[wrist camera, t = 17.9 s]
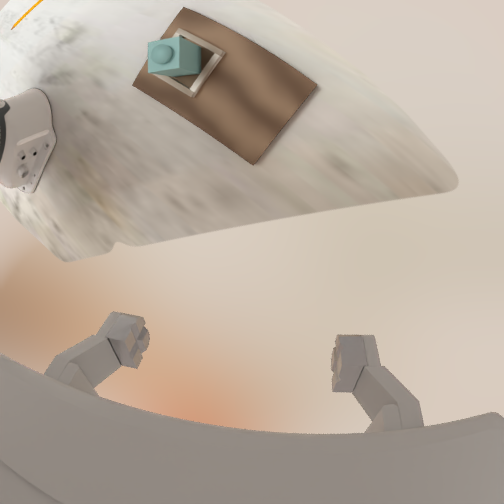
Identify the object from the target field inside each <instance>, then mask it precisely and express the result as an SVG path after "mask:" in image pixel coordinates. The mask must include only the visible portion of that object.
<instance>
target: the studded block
mask: <svg viewBox="0 0 504 504" xmlns="http://www.w3.org/2000/svg"><path fill="white" fill-rule="evenodd" d="M148 73H151V74H158V75H164V76H171V77H178V76H186V75H195V74H200V73H201V47H200V46H198V45H196V44H194V43H192V42H190V41H188V40H186V39H184V38H182V37H180V36H179V37H173V38H168V39H163V40H158V41H153V42H149V43H148Z"/></svg>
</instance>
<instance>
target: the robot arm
mask: <svg viewBox="0 0 504 504" xmlns="http://www.w3.org/2000/svg"><path fill="white" fill-rule="evenodd" d="M55 144H56V136H55V133H54V130H53V127H52V116H51V109H50V105H49V102H48V99H47V97H46V96H45V94H44V93H43V92H42V91H41V90H39V89H35V88H33V89H29V90H27V91H25V92H23V93H21V94H19V95H16V96H13V97H11V98H8V99H5V100H0V183H1V184H2V185H3V186H5V187H7V188H18V189H19V190H20V191H22V192H24V193H33V192H34V190H35V188H36V185H37V183H38V181H39V178H40V176H41V174H42V171H43V169H44V167H45V165H46V162H47V160H48V158H49V156H50V154H51V152H52V150H53V148H54V146H55ZM144 325H145V321H144V318H143V317H140V316H135V315H130V314H125V313H119V312H114V311H113V312H112V313H110V315H109V316H108V318H107V319H106V321H105V322H104V324H103V325H102V327H101V328H100V330H99V331H98V333H97V334H96V335H92V336H90V337H89V338H87V339H85V340H83V341H82V342H80V343H78V344H76V345H75V346H73V347H71V348H69V349H67V350H66V351H64V352H62V353H60V354H59V355H57V356H55V358H54V359H53V361H52V362H51V364H50V365H49V367H48V369H47V370H46V372H45V373H44V375H43V374H41V373H39V372H37V371H35V370H32V369H31V368H28V367H26V366H24V365H22V364H20V363H19V362H17V361H15V360H13V359H11V358H9V357H7V356H5V355H4V354H2V353H0V504H504V418H503V417H502V416H501V415H499V414H498V413H496V412H490V413H486V414H482V415H478V416H474V417H470V418H466V419H462V420H457V421H452V422H448V423H442V424H437V425H431V426H425V427H424V423H423V418H422V413H421V408H420V404H419V401H418V400H417V399H416V398H415V397H414V396H413V395H412V394H411V392H409V391H408V390H407V388H405V387H404V385H403V384H402V383H401V382H400V381H399V380H398V379H396V377H395V376H394V375H393V374H392V373H391V372H390V371H389V370H388V369H387V368H385V366H381V364H380V359H379V354H378V349H377V345H376V341H375V337H374V335H337V337H336V341H335V342H336V347H335V348H333V353H332V359H331V370H332V371H333V372H334V374H333V377H332V390H333V392H353V393H352V394H353V395H354V396H355V398H356V399H357V401H358V402H359V403H360V405H361V406H362V407H363V409H364V410H365V412H366V413H367V415H368V416H369V417H370V419H371V420H372V423H371V424H370V426H369V427H368V428H367V430H366V431H365V433H352V434H297V433H279V432H265V431H255V430H246V429H238V428H230V427H223V426H217V425H210V424H204V423H199V422H194V421H188V420H183V419H179V418H174V417H169V416H165V415H161V414H157V413H153V412H149V411H145V410H141V409H138V408H134V407H130V406H127V405H124V404H120V403H117V402H114V401H111V400H108V399H105V398H102V397H99V395H98V394H97V392H96V391H95V390H94V387H96V386H97V385H98V384H99V383H101V382H102V381H103V380H104V379H106V378H107V377H108V376H109V375H111V374H112V373H113V372H114V371H116V370H117V369H118V368H120V367H121V365H122V366H127V367H132V368H136V369H137V368H138V366H139V364H140V362H141V360H142V352H144V351H146V350H147V347H148V345H149V340H150V337H149V332H148V330H147V329H146V328H145V327H144Z"/></svg>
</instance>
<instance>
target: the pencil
mask: <svg viewBox="0 0 504 504" xmlns="http://www.w3.org/2000/svg"><path fill="white" fill-rule="evenodd" d="M41 1H43V0H39V1H38V2H37V3H36V4H35V5H33V6H32V7H31V8H30V9H29V10H28V11H27V12H26V13H25V14H24V15H23V16H22V17H21V18H20V19H19V20H18V21H17V22H16V23H15V24H14V25H13V27H12V29H13V28H14V27H15V26H16V25H17V24H18V23H19V22H20V21H21V20H22V19H23V18H24V17H25V16H26V15H27V14H28V13H29V12H30V11H32V10H33V9H34V8H35V7H36V6H37V5H38V4H39V3H40V2H41ZM12 29H11V30H12Z"/></svg>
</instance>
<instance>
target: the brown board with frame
mask: <svg viewBox="0 0 504 504" xmlns="http://www.w3.org/2000/svg"><path fill="white" fill-rule="evenodd" d="M179 36H180V37H182V38H184V39H186V40H188V41H190V42H192V43H194V44H196V45H198V46H200V47H201V73H200V74H195V75H186V76H178V77H171V76H164V75H158V74H151V73H148V59H147V61H146V62H145V64H144V66H143V67H142V69H141V71H140V72H139V74H138V76H137V78H136V79H135V81H134V83H133V85H132V86H134V87H136V88H137V89H139V90H141V91H142V92H144V93H146V94H147V95H149V96H151V97H152V98H154V99H155V100H157V101H159V102H160V103H162V104H163V105H165V106H167V107H168V108H170V109H171V110H173V111H174V112H176V113H177V114H179V115H181V116H182V117H184V118H185V119H187V120H188V121H190V122H191V123H193V124H194V125H196V126H197V127H199V128H200V129H202V130H203V131H205V132H206V133H208V134H209V135H211V136H212V137H213V138H215V139H216V140H218V141H219V142H221V143H222V144H224V145H225V146H226V147H228V148H229V149H231V150H232V151H233V152H235V153H236V154H238V155H239V156H240V157H242V158H243V159H245V160H246V161H247V162H249V163H250V164H252V165H254V164H255V163H256V162H257V160H258V159H259V158H260V156H261V155H262V154H263V152H264V151H265V150H266V148H267V147H268V146H269V145H270V143H271V142H272V141H273V139H274V138H275V137H276V136H277V134H278V133H279V132H280V130H281V129H282V128H283V127H284V125H285V124H286V123H287V122H288V120H289V119H290V118H291V117H292V115H293V114H294V113H295V112H296V110H297V109H298V108H299V107H300V105H301V104H302V103H303V102H304V101H305V99H306V98H307V97H308V96H309V94H310V93H311V92H312V91H313V90H314V88H315V87H316V86H317V84H315V83H314V82H313V81H311V80H310V79H309V78H307V77H306V76H304V75H303V74H302V73H300V72H299V71H297V70H296V69H294V68H293V67H292V66H290V65H289V64H287V63H286V62H284V61H283V60H281V59H279V58H278V57H276V56H275V55H273V54H272V53H270V52H268V51H267V50H265V49H264V48H262V47H260V46H259V45H257V44H255V43H254V42H252V41H250V40H248V39H247V38H245V37H243V36H241V35H240V34H238V33H236V32H234V31H232V30H230V29H229V28H227V27H225V26H223V25H221V24H219V23H217V22H215V21H213V20H211V19H209V18H207V17H205V16H203V15H201V14H198V13H196V12H194V11H192V10H190V9H187V8H185V7H183V8H182V10H181V11H180V12H179V13H178V15H177V16H176V18H175V19H174V20H173V22H172V23H171V24H170V26H169V27H168V29H167V30H166V32H165V33H164V34H163V36H162V37H161V39H160V40H163V39H168V38H173V37H179Z"/></svg>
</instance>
